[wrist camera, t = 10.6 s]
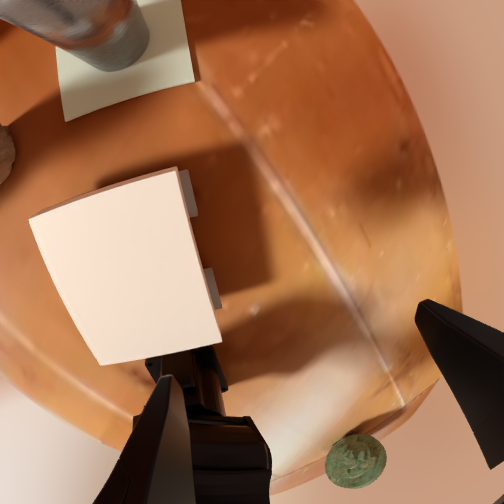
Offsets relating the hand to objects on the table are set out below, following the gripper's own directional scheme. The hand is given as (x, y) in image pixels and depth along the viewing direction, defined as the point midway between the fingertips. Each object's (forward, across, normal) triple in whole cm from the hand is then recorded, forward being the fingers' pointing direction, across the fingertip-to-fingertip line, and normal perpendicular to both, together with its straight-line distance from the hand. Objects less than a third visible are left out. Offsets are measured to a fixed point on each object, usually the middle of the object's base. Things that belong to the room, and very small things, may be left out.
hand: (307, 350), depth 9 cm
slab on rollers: (+12, +8, +1) cm, 15 cm away
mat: (+14, +6, -14) cm, 20 cm away
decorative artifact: (+10, -8, +40) cm, 42 cm away
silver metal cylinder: (+13, +6, -14) cm, 20 cm away
